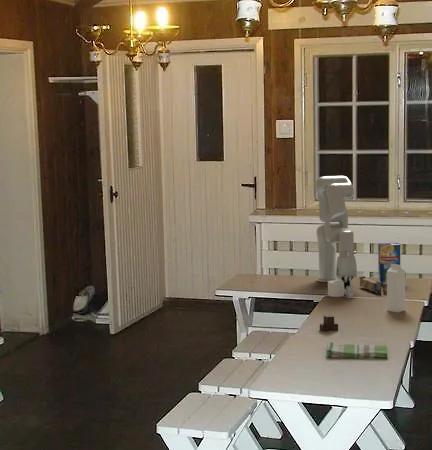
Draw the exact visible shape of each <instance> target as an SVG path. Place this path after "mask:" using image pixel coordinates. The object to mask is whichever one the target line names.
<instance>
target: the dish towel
mask: <svg viewBox="0 0 432 450" xmlns="http://www.w3.org/2000/svg"><path fill="white" fill-rule="evenodd" d="M325 356H326V359H330V358H331V359H362V360H363V359H364V360H388V350H387V345H386V344H382V345H381V344H348V343H347V344H341V343H334V342H332V341H329V342H327V348H326V354H325Z"/></svg>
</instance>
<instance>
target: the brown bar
mask: <svg viewBox="0 0 432 450" xmlns="http://www.w3.org/2000/svg"><path fill="white" fill-rule="evenodd" d="M358 278H359V286H360V287H361V288H364V289H367V290H369V291H371V292H373V293H376V281H374V280H372V279H369V278H366V276H365V275H361V276H359V277H358Z"/></svg>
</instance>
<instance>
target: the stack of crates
mask: <svg viewBox="0 0 432 450" xmlns="http://www.w3.org/2000/svg"><path fill="white" fill-rule="evenodd" d="M319 331H321V332H322V333H324V332H334V331H339V323H337V322H335V316H334V315H332V314H326V315H325V314H324V315H323V323H319Z"/></svg>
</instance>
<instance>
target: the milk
mask: <svg viewBox="0 0 432 450" xmlns="http://www.w3.org/2000/svg"><path fill="white" fill-rule="evenodd" d="M386 310H387V311H388V312H392V313H400V312H405V311H406V271H405V270H404V269H403V268H402V265H401V264H400V265H397V264H391V267H390V268H389V269H388V270H387V294H386Z"/></svg>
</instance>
